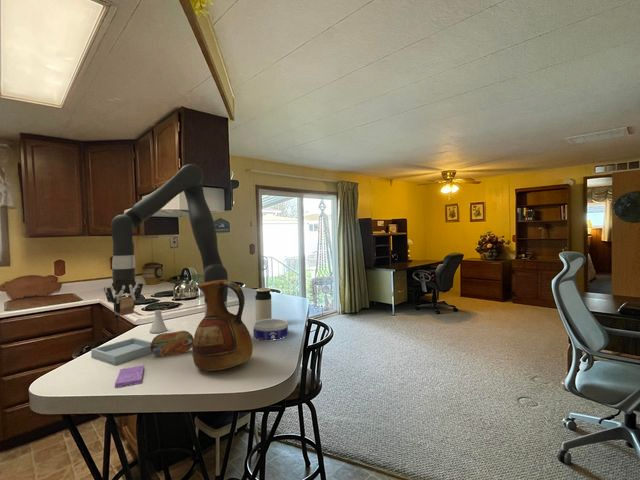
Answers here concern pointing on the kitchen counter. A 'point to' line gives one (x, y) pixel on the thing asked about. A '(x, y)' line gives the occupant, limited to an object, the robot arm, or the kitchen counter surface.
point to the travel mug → (263, 304)
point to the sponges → (129, 376)
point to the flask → (158, 323)
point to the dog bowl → (270, 329)
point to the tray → (122, 351)
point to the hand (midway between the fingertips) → (124, 311)
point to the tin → (171, 343)
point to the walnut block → (126, 306)
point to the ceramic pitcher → (221, 330)
